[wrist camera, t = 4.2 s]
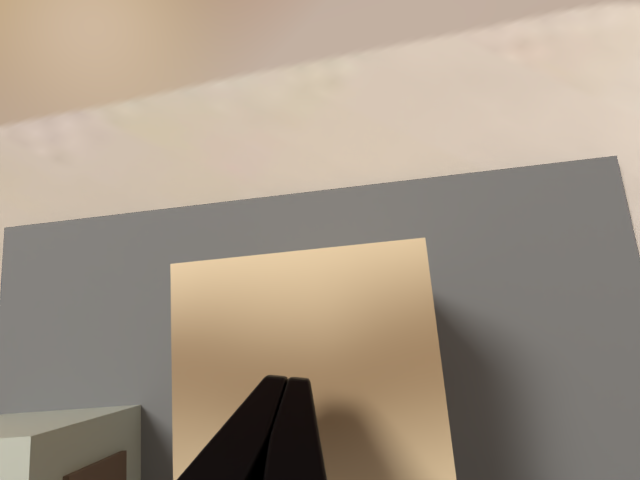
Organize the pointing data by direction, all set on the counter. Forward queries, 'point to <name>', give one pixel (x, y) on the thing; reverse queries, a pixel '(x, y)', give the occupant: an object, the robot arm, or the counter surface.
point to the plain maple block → (317, 353)
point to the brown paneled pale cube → (72, 444)
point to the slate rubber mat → (352, 229)
